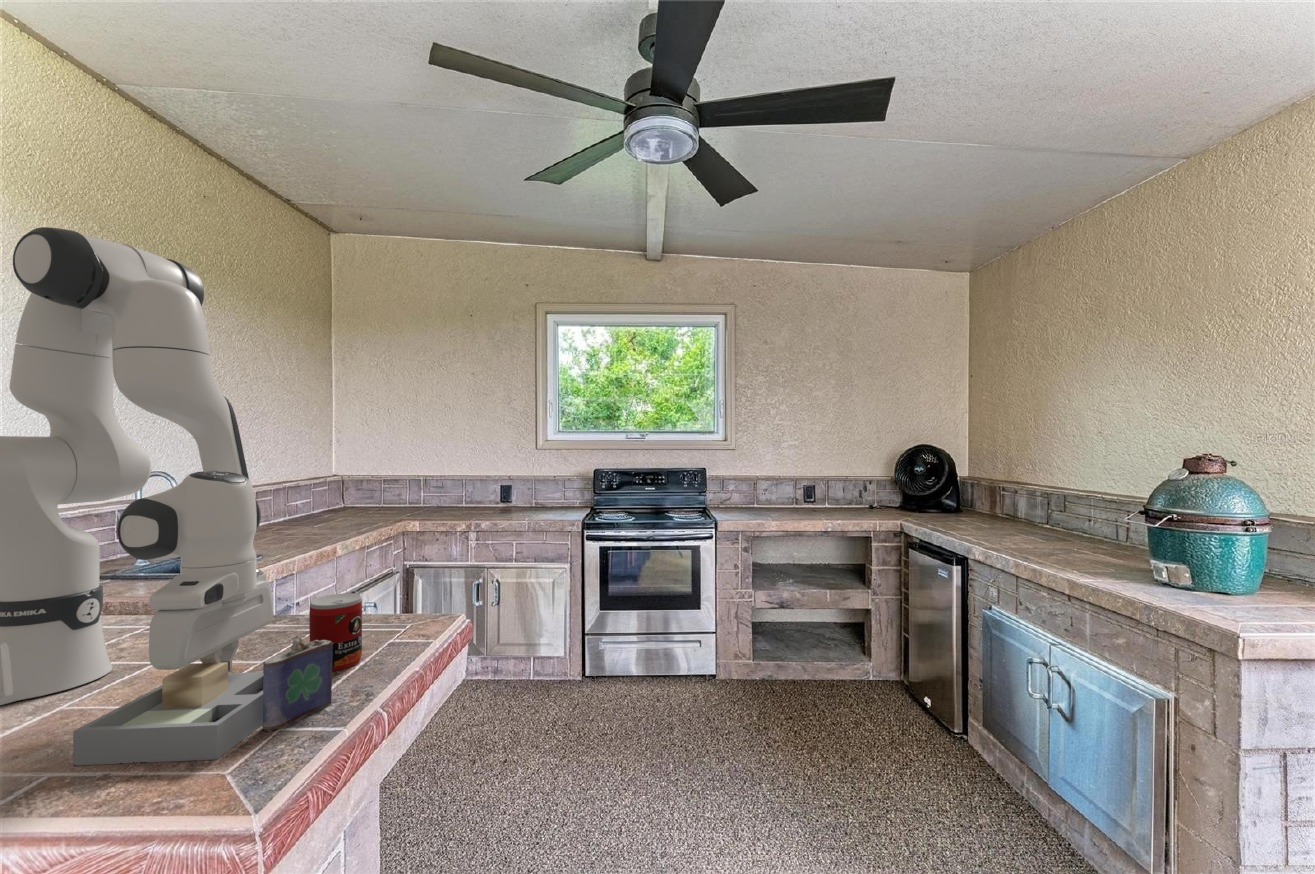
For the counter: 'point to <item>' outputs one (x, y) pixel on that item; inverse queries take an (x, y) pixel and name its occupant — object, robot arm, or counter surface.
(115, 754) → the grey compartment tray
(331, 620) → the canned food
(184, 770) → the counter surface
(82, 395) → the robot arm
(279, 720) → the flask
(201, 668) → the maple block
